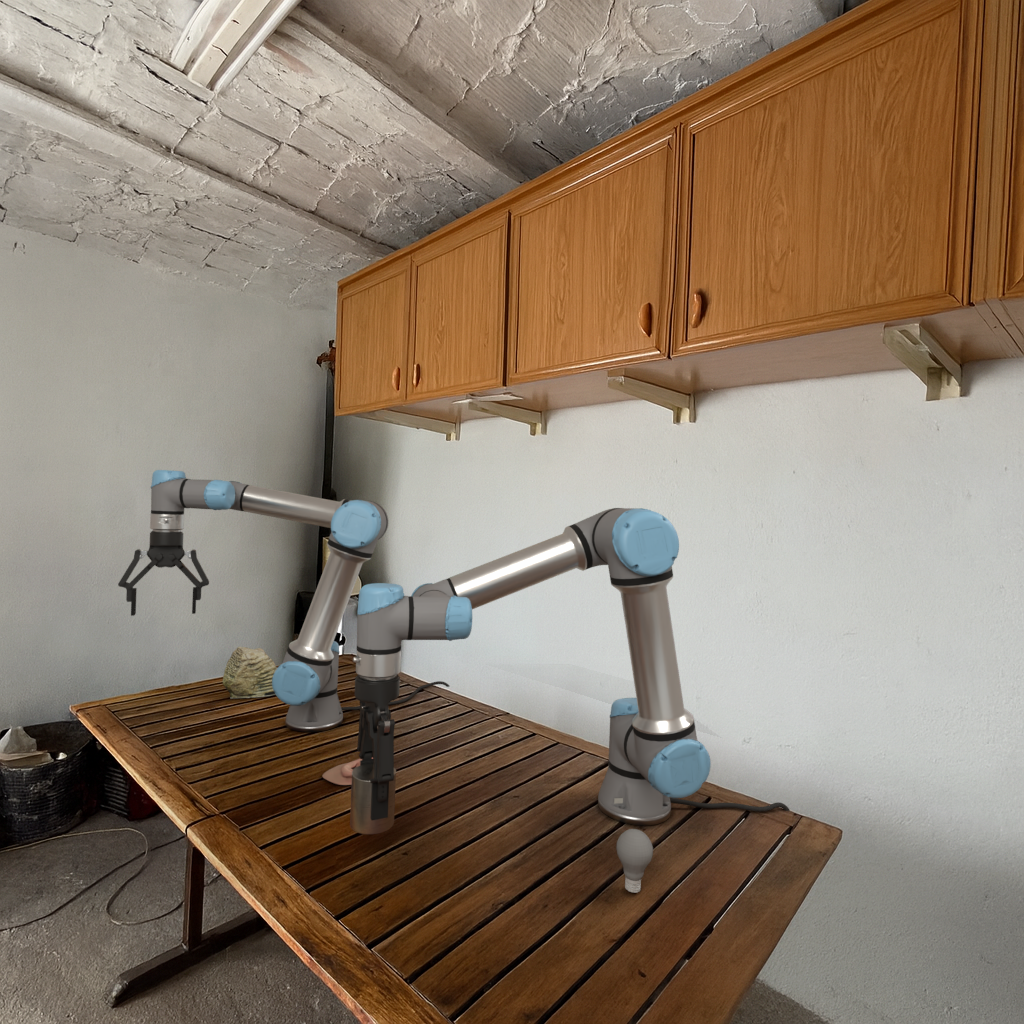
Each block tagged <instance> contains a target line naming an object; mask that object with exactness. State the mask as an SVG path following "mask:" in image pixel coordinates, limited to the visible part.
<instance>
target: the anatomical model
mask: <svg viewBox="0 0 1024 1024" xmlns="http://www.w3.org/2000/svg"><path fill="white" fill-rule="evenodd" d="M372 759H373V757H372ZM361 760H362V759H360V758H357V759H354V760H352V761H350V762H346V763H342V764H338V765H335V766H333V767H332V768H330V769H328V770H326V771H325V772H323V773H322V776H321V777H322V778H323V779H324V780H326V781H328V782H330V783H333V784H335V785H340V786H351V784H352V771H353V770H354V769H355V768H356V767H358V766H360V761H361Z"/></svg>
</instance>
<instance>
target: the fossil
mask: <svg viewBox="0 0 1024 1024" xmlns="http://www.w3.org/2000/svg"><path fill="white" fill-rule="evenodd" d="M277 668H278V667H277V665H276V663H275V662H274V660H273V659H272V658H271V657H270V656H269V655H268V654H267V653H266V652H265V650H264V649H263V648H260V647H258V648H251V647H247V646H246V647H245V646H238V647H237V648H236V649H235V650H233V651H232V653H231V656H230V657H229V659H228V660H227V663H226V666H225V668H224V671H223V675H222V676H223V677H222V685H223V687H224V688H225V690H226V691H228V693H229V698H230V699H250V698H264V697H271V696H276V694H275V692H274V691H273V687H272V678H273V675H274V673H275V671H276V670H277Z"/></svg>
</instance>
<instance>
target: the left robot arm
mask: <svg viewBox="0 0 1024 1024" xmlns="http://www.w3.org/2000/svg"><path fill="white" fill-rule="evenodd" d="M150 489H151V492H150V493H151V494H150V495H151V496H150V497H151V498H150V521H149V522H150V523H149V529H151V530H152V531H150V532H149V547H148V550H145V549H144V550H143V549H140V548H136V549H135V550H134V554H133V559H132V561H131V562H130V563H129V565H128V567H127V568H126V570H125V572H124V573H123V575H122V577H121V578H120V580H119V582H118V587H120V588H124V589H126V593H125V594H126V596H125V598H126V599H125V600H126V602H127V603H130V616H131V617H132V616H133V617H134V616H136V614H137V591H138V590H137V587H135V585H136V584H137V583H138V582H139V581H141V580H142V579H143V578H144V576H146V575H147V573H149V571H151V570H152V569H153V568H154V567H157V568H158V569H159V568H174V567H177V568H178V569H179V570H180V572H182V574H183V575H185V576H186V578H187V579H188V580H189V581H190V582H191V583H192V584H193V585H194V586H193V587H192V600H191V601H192V603H191V605H192V606H191V614H193V615H196V613H197V612H196V611H197V601H201V599H202V588H204V587H206V586H209V585H210V580H209V579H208V576H207V574H206V572H205V571H204V569H203V567H202V565H201V562H200V561H199V558H198V556H197V550H196V549H194V548H193V549H191V550H185V549H184V533H183V530H184V528H185V527H184V526H185V509H197V510H213V511H223V510H225V511H226V510H233V511H238V512H243V513H245V512H246V513H250V514H255V515H256V514H257V515H260V516H266V517H271V518H276V519H282V520H286V521H293V522H298V523H302V524H307V525H312V526H318V527H322V528H323V527H324V528H327V529H330V534H329V537H328V540H327V542H326V546H327V548H328V549H329V554H328V558H327V560H326V563H325V565H324V568H323V570H322V574H321V575H320V579H319V581H318V584H317V587H316V589H315V592H314V594H313V597H312V600H311V603H310V606H309V608H308V610H307V613H306V616H305V619H304V622H303V624H302V627H301V629H300V632H299V635H298V637H297V639H295V640H293V641H291V642H289V644H288V646H287V649H286V652H285V654H284V657H283V659H282V662H281V664H280V665H278V667H276V668H277V670H276V671H275V673H274V675H273V678H272V687H273V691H274V692H275V694H276V695H275V696H276V697H277V699H278V700H279V701H281V702H282V703H284V704H286V705H289V708H288V709H287V713H286V715H285V726H286V728H287V729H289V730H291V731H294V732H295V731H296V732H301V733H316V732H325V731H329V730H332V729H335V728H337V727H339V726H340V725H342V723H343V722H344V714H343V711H360V705H359V706H341V702H340V699H339V695H338V682H339V662H340V661H339V660H340V659H339V657H340V645H339V643H338V642H337V641H335V639H336V636H337V633H338V630H339V627H340V626H341V622H342V619H343V616H344V614H345V611H346V609H347V607H348V603H349V601H350V599H351V596H352V593H353V590H354V587H355V584H356V582H357V580H358V577H359V574H360V571H361V569H362V566H363V564H364V563H366V562H367V561H369V560H371V559H372V556H373V554H374V551H375V549H376V546H377V543H378V541H379V540H381V538H383V537H384V535H385V534H386V533H387V531H388V527H389V517H388V513H387V510H385V509H384V508H383V506H382V505H381V504H379V503H378V502H376V501H372V500H365V499H364V500H362V499H353V500H352V499H347V498H344V499H341V500H340V501H337V500H332V499H326V498H321V497H317V496H310V495H306V494H301V493H295V492H291V491H290V492H289V491H284V490H278V489H274V488H268V487H263V486H259V485H253V484H247V483H242V482H239V481H237V480H235V481H234V480H223V479H197V478H196V479H193V478H192V479H191V478H187V476H186V472H185V471H183V470H169V469H156V470H154V471H153V472H152V476H151V486H150ZM145 556H147V557H148V559H149V560H150V562H149V563H147V565H146V566H144V568H143V569H142V570H140V572H139V573H137V575H136V576H135V577H134V578H133V579H132V580H131V581H130V582H127V581H128V580H129V578H130V577H131V575H132V573H133V571H134V570H135V569H136V567H137V565H138V563H139V562H140V560H142V559H143V558H144V557H145ZM185 556H186V557H187V558H188V559H189V560H190V559H191V562H192V564H193V566H194V568H195V570H196V572H197V573H198V575H199V577H200V579H201V581H200V580H199V579H198V577H196V576H195V575H194V573H192V571H190V570H189V568H188V567H187V566H186V565H185V564H184V563H183V561H182V559H183V558H184V557H185ZM436 685H443V686H445V687H446V688H449V687H451V686H450V685H449V684H448V683H447V682H445V681H442V680H440V681H433V682H429V683H426V684H423V685H420V686H419V687H417V688H416V689H415V690H414V691H413V692H412V693H411V694H410V695H409V696H407V697H405V698H402V699H398V700H392V701H391V702H389V703H388V706H392V705H398V704H404V703H405V702H408V701H410V700H411V699H412V698H413V697H414V696H416V695H417V694H418V692H419V691H421V690H423V689H427V688H429V687H432V686H436Z"/></svg>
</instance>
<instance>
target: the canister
mask: <svg viewBox="0 0 1024 1024" xmlns="http://www.w3.org/2000/svg"><path fill="white" fill-rule="evenodd" d="M370 779H374V767H373V763H368V764H364V765H360V766H358V767H356V768H355V769H354V770H353V771H352V784H351V785H350V787H351V788H350V791H351V792H350V810H349V811H350V816H349V826H350V829H351V830H352V831H353V832H355V833H357V834H360V835H377V834H382V833H384V832H387V831H388V830H390V829H391V828H392V827H393V826H394V824H395V811H396V810H395V809H396V807H395V806H396V781H397V770H396V768H395V767H394V780H393V781H389V798H388V818H382V819H377V820H371V792H372V783H370Z"/></svg>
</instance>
